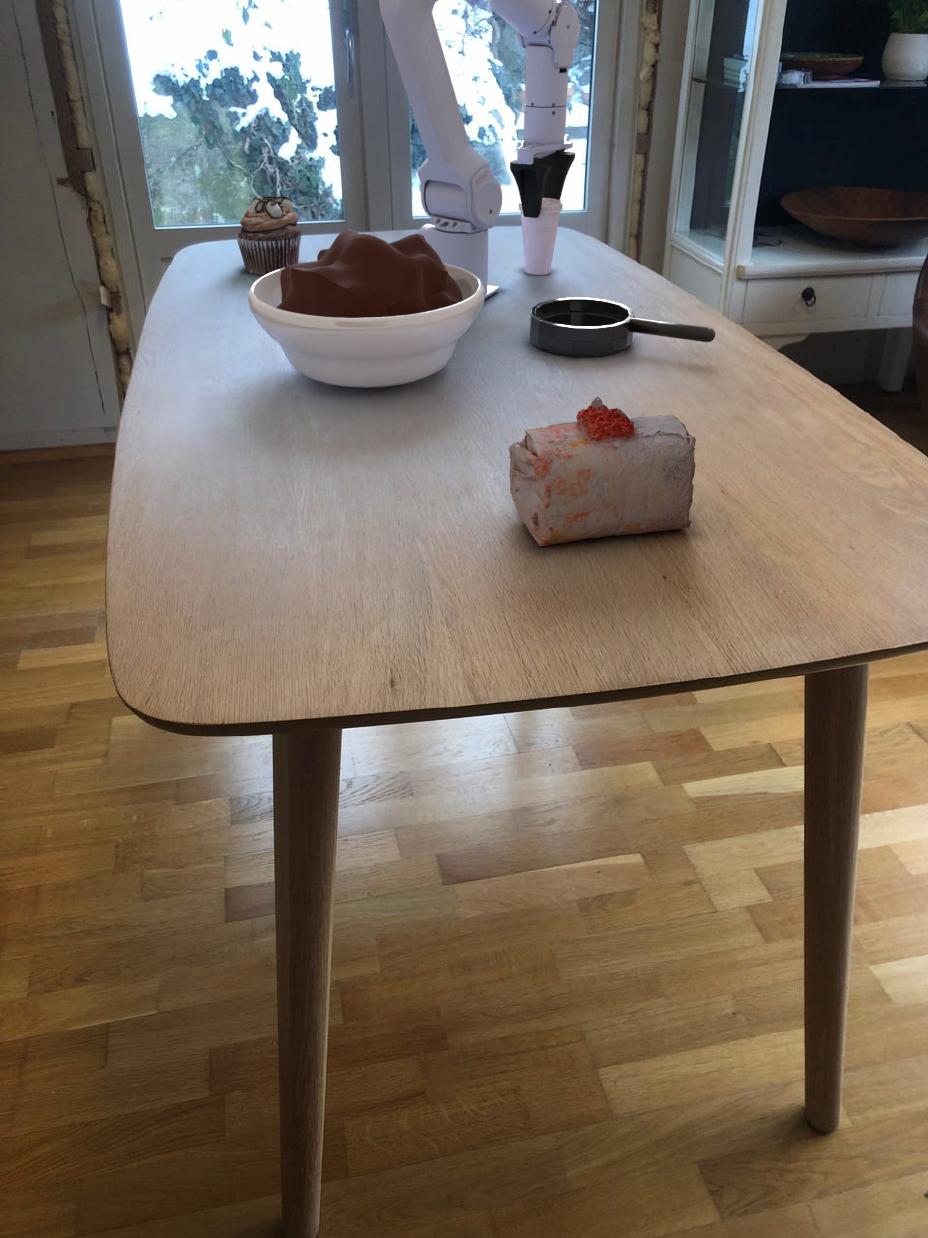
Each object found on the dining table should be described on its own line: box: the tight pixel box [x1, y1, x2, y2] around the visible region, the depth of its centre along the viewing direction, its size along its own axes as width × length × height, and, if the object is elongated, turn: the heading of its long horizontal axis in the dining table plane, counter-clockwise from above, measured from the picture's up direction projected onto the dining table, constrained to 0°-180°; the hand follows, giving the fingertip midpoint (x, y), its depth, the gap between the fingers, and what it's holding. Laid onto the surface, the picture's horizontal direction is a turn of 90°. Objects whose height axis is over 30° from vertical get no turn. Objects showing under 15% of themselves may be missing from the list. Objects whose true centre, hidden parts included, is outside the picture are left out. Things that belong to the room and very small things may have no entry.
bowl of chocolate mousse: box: [247, 229, 485, 389], centre depth 102 cm, size 25×25×15 cm
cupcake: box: [235, 194, 303, 276], centre depth 141 cm, size 10×10×10 cm
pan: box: [529, 297, 636, 358], centre depth 114 cm, size 12×12×4 cm
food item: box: [508, 396, 697, 547], centre depth 74 cm, size 14×8×10 cm, turn 102°
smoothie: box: [517, 198, 564, 276], centre depth 138 cm, size 6×6×14 cm
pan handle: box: [629, 317, 716, 343], centre depth 110 cm, size 11×2×2 cm, turn 65°
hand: (541, 211), depth 137 cm, fingers open, 7 cm apart
